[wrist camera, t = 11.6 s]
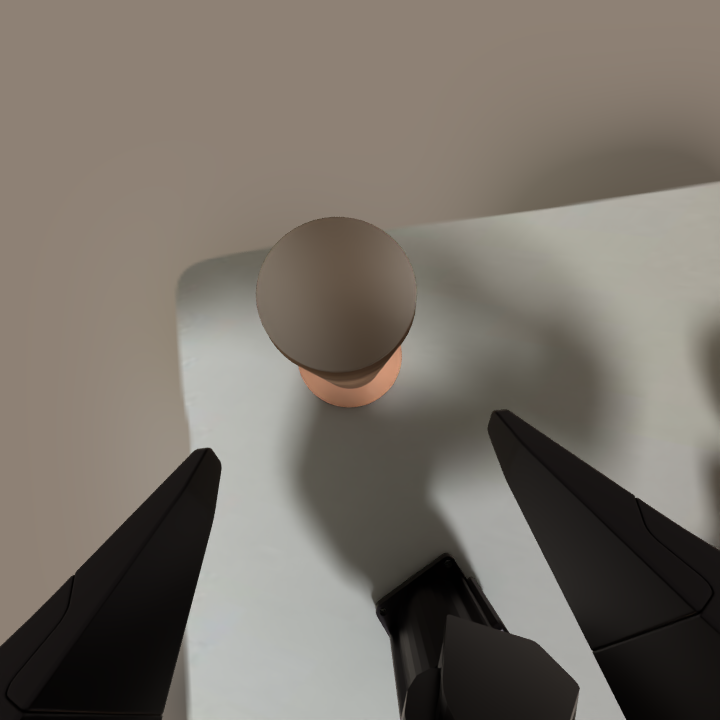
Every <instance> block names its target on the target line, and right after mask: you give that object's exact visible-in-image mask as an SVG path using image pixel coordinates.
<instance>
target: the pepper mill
mask: <svg viewBox="0 0 720 720" xmlns="http://www.w3.org/2000/svg"><path fill="white" fill-rule="evenodd" d="M416 299H417V286H416V280H415V275H414V272H413V268H412V266H411V264H410V261H409V259H408V257H407V256H406V254H405V252H404V251H403V249H402V248H401V247H400V246H399V245H398V243H397V242H396V241H395V240H394V239H393V238H392V237H391V236H389V235H388V234H387V233H385V232H384V231H383V230H381V229H379V228H378V227H375V226H374V225H372V224H369V223H367V222H364V221H361V220H357V219H352V218H345V217H329V218H322V219H317V220H313V221H310V222H308V223H305V224H303V225H301V226H299V227H297V228H295V229H293V230H292V231H290V232H289V233H287V234H286V235H285V236H284V237H283V238H281V239H280V240H279V241H278V242H277V243H276V245H275V246H274V247H273V248H272V249H271V251H270V252H269V254H268V255H267V257H266V259H265V261H264V263H263V265H262V267H261V270H260V273H259V276H258V281H257V288H256V301H257V308H258V313H259V317H260V319H261V322H262V325H263V327H264V329H265V330H266V332H267V334H268V335H269V337H270V339H271V341H272V342H273V344H274V345H275V346H276V348H277V349H278V350H279V351H280V352H281V353H282V354H283V355H284V356H285V357H286V358H288V359H289V360H290V361H291V362H293V363H295V364H296V365H298V366H300V367H301V368H303V369H305V370H307V371H309V372H311V373H313V374H315V375H317V376H319V377H320V378H322V379H324V380H326V381H328V382H330V383H332V384H334V385H336V386H338V387H341V388H346V389H354V388H359V387H362V386H364V385H366V384H368V383H369V382H371V381H372V380H373V379H374V378H375V377H376V376H377V374H378V373H379V372H380V370H381V369H382V368H383V367H384V365H385V364H386V363H387V362H388V360H389V359H390V358H391V356H392V355H393V354H394V353H395V351H396V350H397V349H398V348H399V346H400V345H401V344H402V342H403V341H404V339H405V338H406V336H407V334H408V332H409V330H410V328H411V325H412V322H413V319H414V315H415V308H416Z"/></svg>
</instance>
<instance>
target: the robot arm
mask: <svg viewBox="0 0 720 720" xmlns="http://www.w3.org/2000/svg"><path fill="white" fill-rule="evenodd" d="M488 434H489V437H490V439H491V442H492V445H493V447H494V450H495V453H496V455H497V458H498V460H499V463H500V466H501V468H502V471H503V474H504V476H505V478H506V481H507V483H508V485H509V487H510V489H511V491H512V493H513V495H514V497H515V499H516V501H517V503H518V505H519V507H520V509H521V511H522V513H523V515H524V517H525V519H526V521H527V523H528V525H529V527H530V529H531V531H532V533H533V535H534V537H535V539H536V541H537V543H538V545H539V547H540V549H541V551H542V553H543V555H544V557H545V559H546V561H547V563H548V565H549V567H550V568H551V570H552V572H553V574H554V576H555V578H556V580H557V582H558V584H559V586H560V588H561V590H562V592H563V594H564V596H565V598H566V600H567V602H568V604H569V606H570V608H571V610H572V612H573V614H574V616H575V618H576V620H577V622H578V624H579V626H580V628H581V630H582V632H583V634H584V636H585V638H586V640H587V642H588V644H589V646H590V648H591V650H593V654H594V656H595V658H596V660H597V662H598V664H599V666H600V668H601V670H602V672H603V674H604V676H605V678H606V680H607V682H608V684H609V686H610V688H611V690H612V692H613V694H614V696H615V698H616V700H617V702H618V704H619V706H620V708H621V710H622V712H623V714H624V716H625V718H626V720H720V550H718V549H716V548H715V547H713V546H711V545H710V544H708V543H707V542H705V541H703V540H702V539H700V538H699V537H697V536H695V535H694V534H692V533H690V532H689V531H687V530H686V529H684V528H682V527H681V526H679V525H678V524H676V523H675V522H673V521H672V520H670V519H669V518H667V517H666V516H664V515H663V514H661V513H660V512H658V511H657V510H655V509H654V508H652V507H651V506H649V505H648V504H646V503H645V502H643V501H642V500H640V499H639V498H635V496H634V495H633V494H631V493H630V492H628V491H627V490H625V489H624V488H622V487H621V486H619V485H618V484H616V483H615V482H614V481H612V480H611V479H609V478H608V477H606V476H605V475H603V474H602V473H600V472H599V471H597V470H596V469H594V468H593V467H591V466H590V465H588V464H587V463H585V462H584V461H583V460H581V459H580V458H578V457H577V456H575V455H574V454H572V453H571V452H569V451H568V450H566V449H565V448H563V447H562V446H560V445H559V444H557V443H556V442H554V441H553V440H552V439H550V438H549V437H547V436H546V435H544V434H543V433H541V432H540V431H538V430H537V429H535V428H534V427H532V426H531V425H529V424H528V423H526V422H525V421H523V420H522V419H521V418H519V417H518V416H516V415H515V414H513V413H512V412H510V411H509V410H506V409H502V410H495V411H493V412H492V414H491V418H490V421H489V424H488ZM220 476H221V462H220V460H219V459H218V457H217V456H216V454H215V453H214V452H213V450H212V449H211V448H201V449H197V450H195V451H194V452H192V453H191V454H190V456H189V457H188V458H187V459H186V460H185V461H184V462H183V463H182V464H181V465H180V466H179V467H178V468H177V469H176V470H175V471H174V472H173V473H172V474H171V475H170V476H169V477H168V478H167V479H166V480H165V481H164V482H163V484H161V485H160V486H159V487H158V488H157V489H156V490H155V492H153V493H152V494H151V495H150V497H149V498H148V499H147V500H146V501H145V502H144V503H143V504H142V505H141V506H140V507H139V508H138V509H137V510H136V511H135V512H134V513H133V514H132V515H131V516H130V517H129V518H128V519H127V520H126V521H125V522H124V523H123V524H122V525H121V526H120V527H119V528H118V529H117V530H116V531H115V532H114V533H113V534H112V536H110V537H109V539H108V540H107V541H106V542H105V543H104V544H103V545H102V546H101V547H100V548H99V549H98V550H97V551H96V552H95V553H94V554H93V555H92V556H91V557H90V558H89V559H88V560H87V561H86V562H85V563H84V564H83V565H82V566H81V567H80V568H79V569H78V570H77V571H76V573H75V575H73V576H71V577H70V578H69V579H68V580H67V581H66V583H64V585H63V586H61V588H60V589H59V590H58V591H57V592H56V593H55V594H54V595H53V596H52V597H51V598H50V599H49V600H48V601H47V602H46V603H45V604H44V605H43V606H42V607H41V608H40V609H39V610H38V611H37V612H36V613H35V614H34V615H33V616H32V617H31V618H30V619H29V620H28V621H27V622H25V623H24V624H23V625H22V626H21V627H20V628H19V629H18V630H17V631H16V632H15V633H14V634H13V635H12V636H11V637H10V638H9V639H8V640H7V641H6V642H5V643H3V644H2V645H1V646H0V720H162V714H163V712H164V708H165V704H166V700H167V696H168V693H169V688H170V685H171V681H172V677H173V673H174V670H175V666H176V662H177V658H178V654H179V651H180V647H181V643H182V639H183V635H184V631H185V628H186V624H187V620H188V616H189V612H190V608H191V605H192V601H193V597H194V593H195V589H196V585H197V581H198V578H199V574H200V570H201V566H202V562H203V558H204V555H205V551H206V547H207V543H208V539H209V535H210V532H211V528H212V524H213V519H214V514H215V509H216V502H217V495H218V489H219V482H220ZM447 560H450V563H449V564H447V565H446V564H445V562H446V561H447ZM381 608H385V609H386V610H385V611H384V612H382V611H380V609H381ZM376 614H377V617H378V619H379V620H380V622H381V624H382V625H383V627H384V629H385V630H386V632H387V634H388V635H389V637H390V643H391V651H392V658H393V666H394V674H395V682H396V690H397V698H398V705H399V713H400V720H575V716H576V709H577V702H578V696H579V689H580V688H579V686H578V684H577V683H576V681H575V680H574V679H573V678H572V677H571V676H570V675H569V674H568V673H567V672H566V671H565V670H564V669H563V668H562V667H561V666H560V665H559V664H558V663H557V662H556V661H555V660H554V659H553V658H552V657H551V656H550V655H549V654H548V653H547V652H546V651H545V650H544V649H543V648H542V647H541V646H540V645H539V644H537V643H536V642H535V641H532V640H529V639H526V638H523V637H520V636H516V635H513V634H510V633H509V632H508V630H507V629H506V627H505V625H504V624H503V622H502V621H501V619H500V618H499V616H498V614H497V613H496V611H495V610H494V608H493V607H492V605H491V604H490V602H489V600H488V599H487V597H486V596H485V594H484V593H483V591H482V590H481V588H480V587H479V585H478V583H477V582H476V580H475V579H474V578H471V577H469V578H468V579H466V577H465V575H464V574H463V572H462V571H461V569H460V568H459V566H458V565H457V563H456V561H455V560H454V558H453V557H452V556H451V555H450V554H448V553H444V554H442V555H441V556H440V557H438V558H437V559H435V560H434V561H433V562H431V563H430V564H429V565H427V566H426V567H425V568H423V569H422V570H420V571H419V572H418V573H416V574H415V575H414V576H412V577H411V578H410V579H408V580H407V581H405V582H404V583H403V584H401V585H400V586H399V587H397V588H396V589H394V590H393V591H392V592H390V593H389V594H388V595H386V596H385V597H384V598H382V599H381V600H379V601H378V602H377V604H376Z"/></svg>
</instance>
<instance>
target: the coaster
mask: <svg viewBox="0 0 720 720" xmlns="http://www.w3.org/2000/svg"><path fill="white" fill-rule="evenodd" d="M401 360H402V351H401V345H400V346H399V348H398V349H397V350H396V351H395V353H394V354H393V355H392V356H391V358H390V359H389V360H388V362H387V363H386V364H385V365H384V367H383V368H382V369H381V370H380V372H379V373H378V374H377V376H376V377H375V378H374V379H373V380H372V381H371V382H369V383H368V384H366V385H364V386H362V387H359V388H354V389H346V388H341V387H338V386H336V385H334V384H332V383H330V382H328V381H326V380H324V379H322V378H320V377H319V376H317V375H315V374H313V373H311V372H309V371H307V370H305V369H303V368H301V367H300V366H299V370H300V373H301V376H302V378H303V380H304V382H305V384H306V385H307V386H308V388H309V389H310V390H311V391H312V392H313V393H314V394H315V395H316V396H317V397H319V398H320V399H322V400H323V401H325V402H327V403H330V404H332V405H336V406H340V407H359V406H363V405H367V404H369V403H371V402H374V401H375V400H377V399H379V398H380V397H381V396H383V395H384V394H385V393H386V392H387V391H388V390H389V389H390V387H391V386H392V385H393V383H394V382H395V380H396V378H397V376H398V373H399V370H400V366H401Z"/></svg>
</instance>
